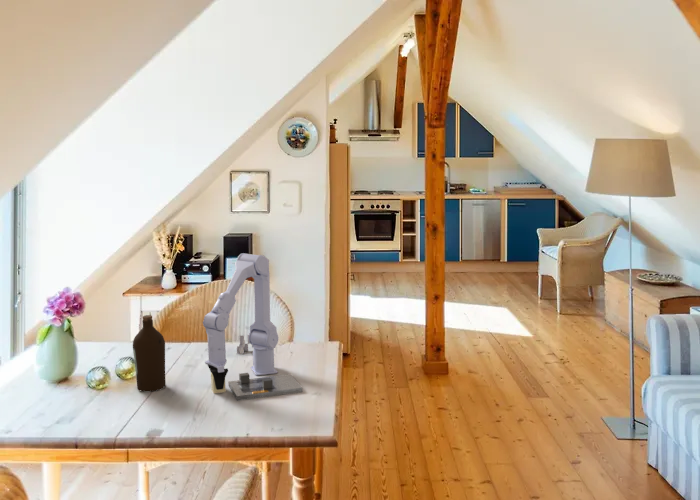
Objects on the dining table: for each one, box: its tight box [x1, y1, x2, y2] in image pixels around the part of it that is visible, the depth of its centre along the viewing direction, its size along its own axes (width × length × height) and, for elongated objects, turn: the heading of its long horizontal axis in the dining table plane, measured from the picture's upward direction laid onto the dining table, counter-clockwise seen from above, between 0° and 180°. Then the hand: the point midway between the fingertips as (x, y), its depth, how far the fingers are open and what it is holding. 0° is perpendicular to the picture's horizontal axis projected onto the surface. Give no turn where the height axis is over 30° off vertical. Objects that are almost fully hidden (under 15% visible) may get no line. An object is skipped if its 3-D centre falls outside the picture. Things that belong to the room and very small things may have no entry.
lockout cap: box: [210, 372, 227, 394], centre depth 253 cm, size 5×5×6 cm
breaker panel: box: [227, 373, 303, 401], centre depth 254 cm, size 15×22×2 cm
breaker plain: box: [238, 372, 251, 384], centre depth 256 cm, size 2×3×3 cm
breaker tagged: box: [262, 378, 273, 389], centre depth 251 cm, size 2×3×3 cm
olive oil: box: [132, 314, 166, 392], centre depth 256 cm, size 11×11×25 cm
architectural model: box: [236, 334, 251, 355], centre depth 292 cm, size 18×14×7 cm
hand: (218, 386), depth 253 cm, fingers closed on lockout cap, 4 cm apart
